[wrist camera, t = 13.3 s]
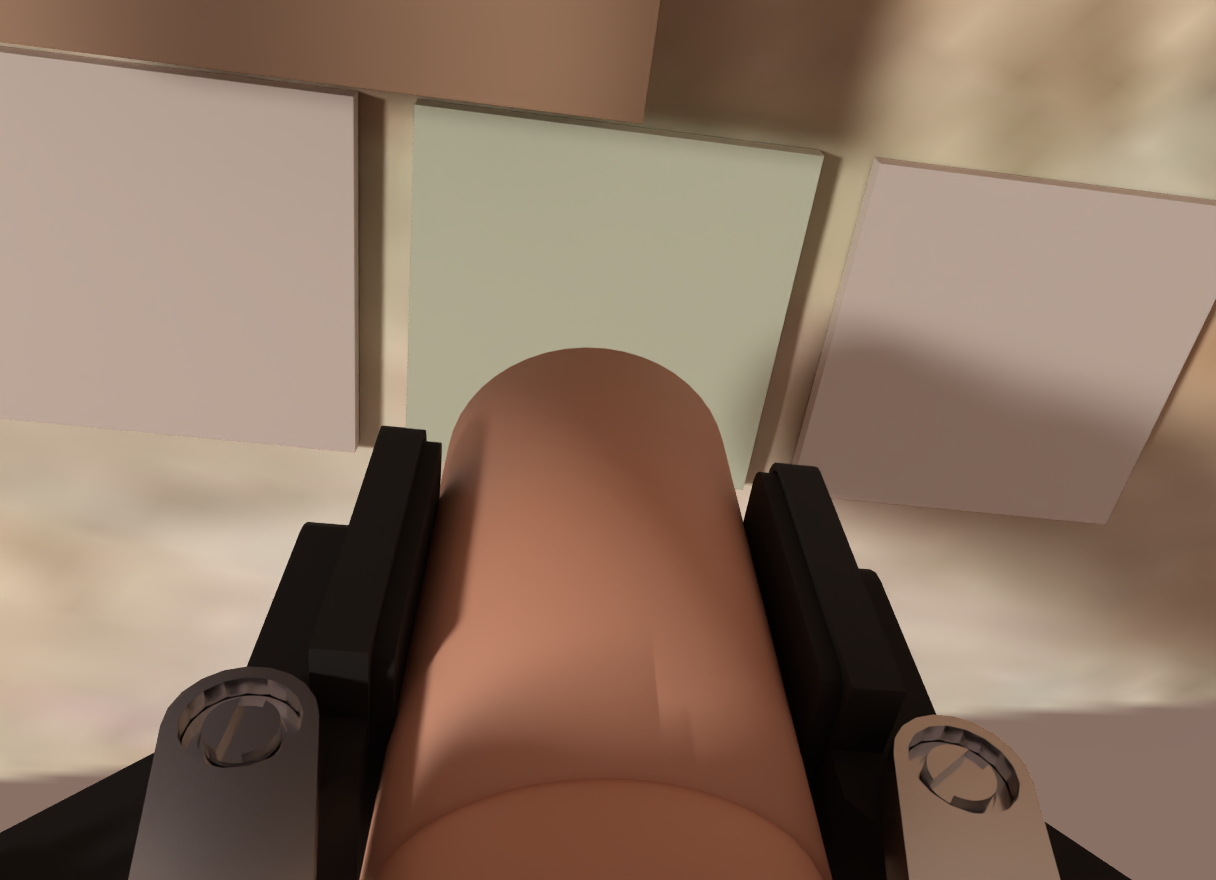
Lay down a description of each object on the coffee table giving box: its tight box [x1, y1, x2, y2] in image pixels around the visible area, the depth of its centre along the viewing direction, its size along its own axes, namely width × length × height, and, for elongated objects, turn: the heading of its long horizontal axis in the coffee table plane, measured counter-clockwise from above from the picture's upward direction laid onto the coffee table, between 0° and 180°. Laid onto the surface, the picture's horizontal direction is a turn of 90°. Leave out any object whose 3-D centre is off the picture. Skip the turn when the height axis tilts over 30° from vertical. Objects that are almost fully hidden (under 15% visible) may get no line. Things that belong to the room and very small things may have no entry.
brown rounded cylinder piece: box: [359, 347, 832, 880], centre depth 10 cm, size 4×4×10 cm
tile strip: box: [0, 46, 1216, 525], centre depth 19 cm, size 23×7×1 cm, turn 83°
